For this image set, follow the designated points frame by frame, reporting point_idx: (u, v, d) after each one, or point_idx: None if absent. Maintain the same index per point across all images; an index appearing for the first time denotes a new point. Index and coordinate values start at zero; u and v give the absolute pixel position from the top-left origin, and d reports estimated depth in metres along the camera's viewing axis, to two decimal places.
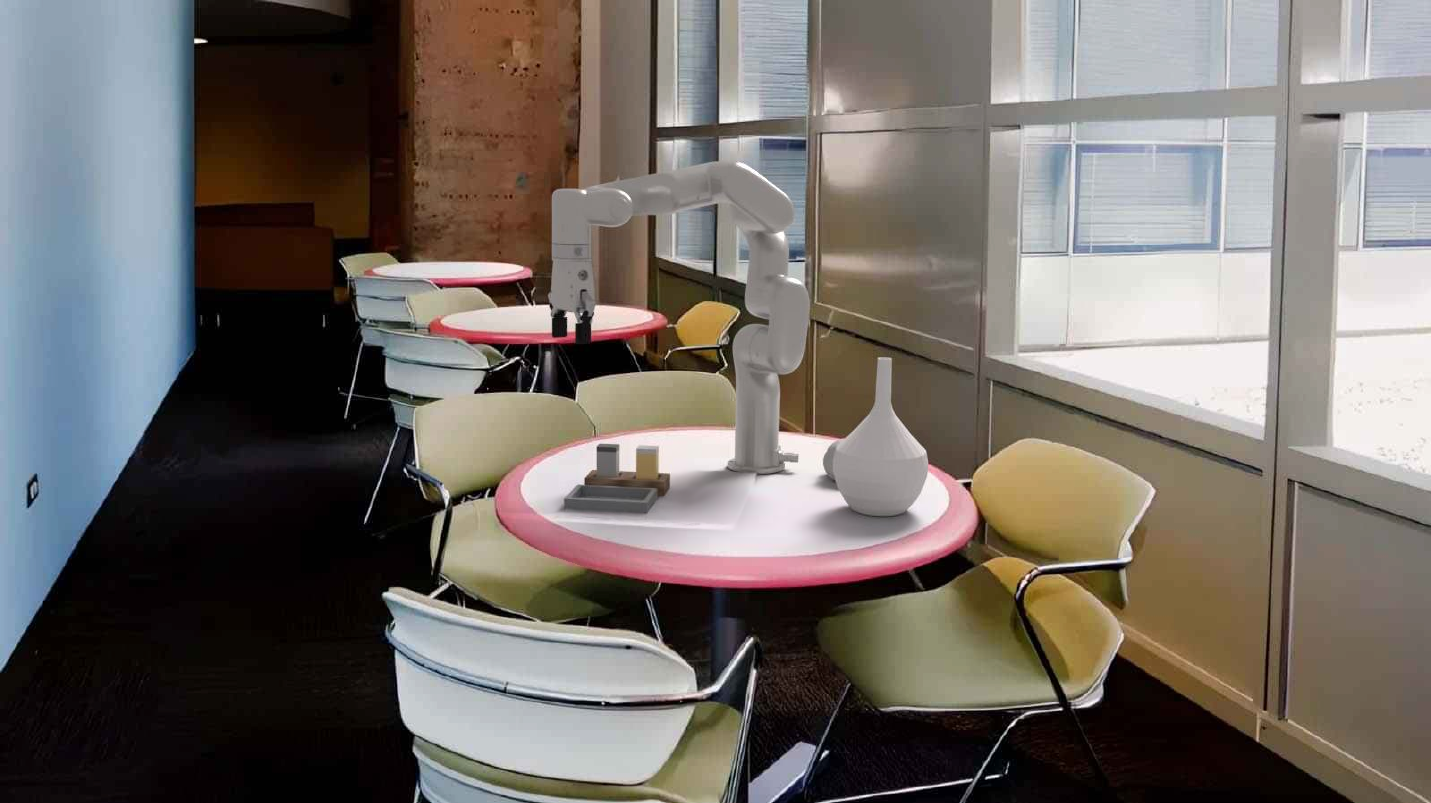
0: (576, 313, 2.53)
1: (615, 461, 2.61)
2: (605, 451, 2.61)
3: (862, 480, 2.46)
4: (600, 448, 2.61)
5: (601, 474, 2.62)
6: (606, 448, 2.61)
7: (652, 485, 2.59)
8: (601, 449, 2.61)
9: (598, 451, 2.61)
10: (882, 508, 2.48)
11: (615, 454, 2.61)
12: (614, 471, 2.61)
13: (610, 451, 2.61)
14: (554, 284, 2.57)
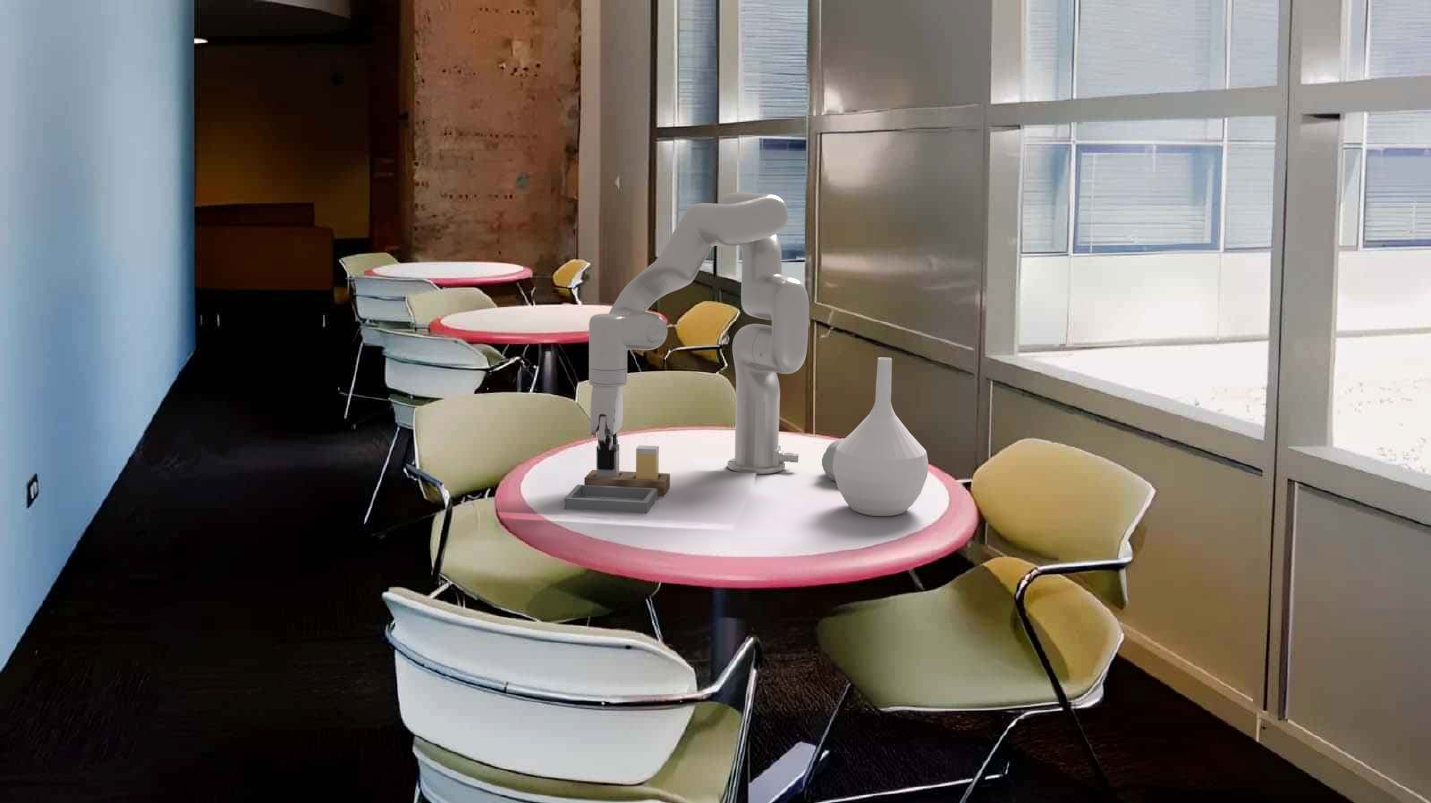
0: (617, 434, 2.64)
1: (615, 461, 2.61)
2: None
3: (862, 479, 2.46)
4: None
5: (601, 474, 2.62)
6: None
7: (652, 485, 2.59)
8: None
9: None
10: (882, 508, 2.48)
11: (615, 454, 2.61)
12: (614, 471, 2.61)
13: None
14: (617, 410, 2.58)
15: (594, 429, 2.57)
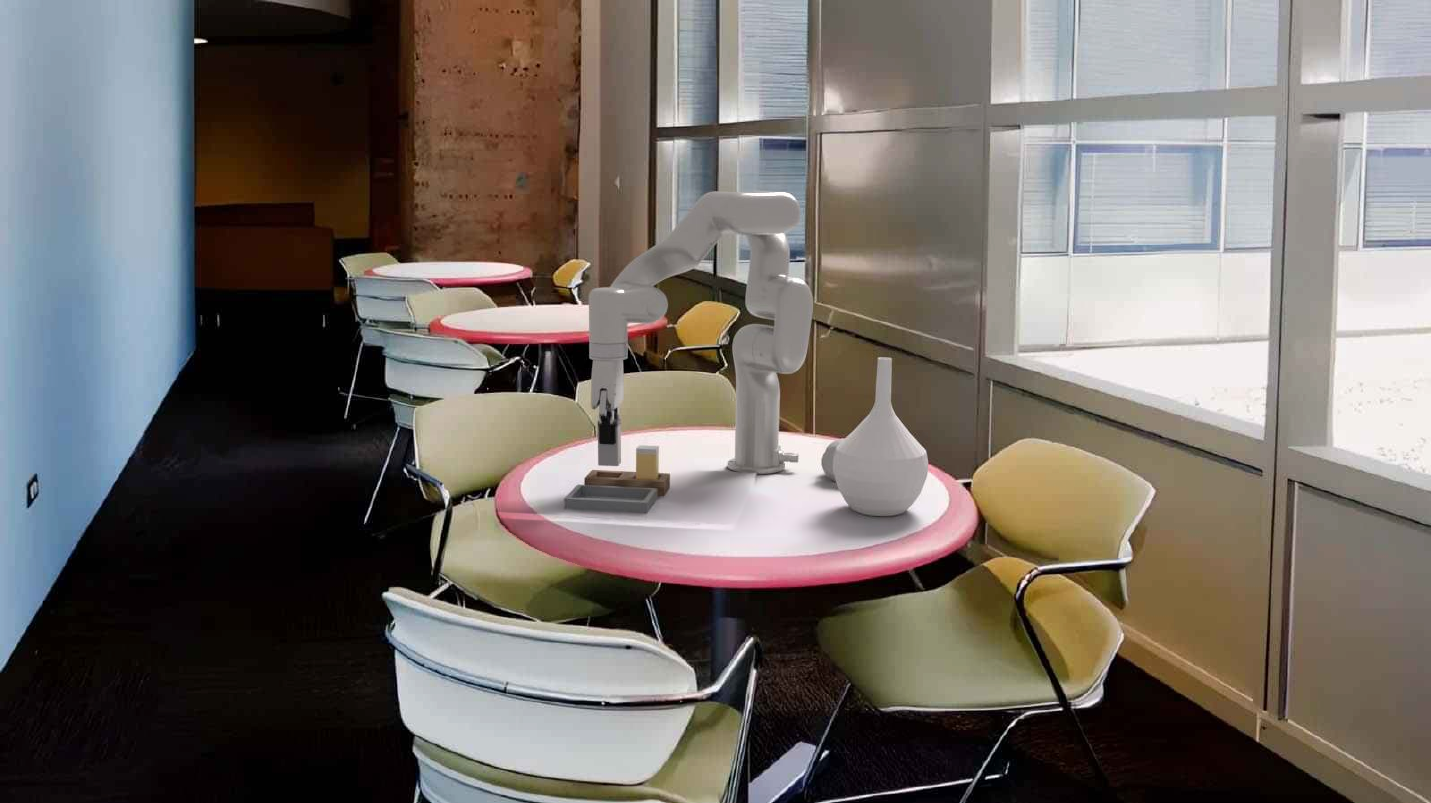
0: (618, 409, 2.63)
1: (616, 435, 2.60)
2: None
3: (862, 479, 2.46)
4: None
5: (602, 448, 2.61)
6: None
7: (652, 485, 2.59)
8: None
9: None
10: (882, 508, 2.48)
11: (616, 428, 2.60)
12: (616, 445, 2.61)
13: None
14: (617, 384, 2.57)
15: (595, 403, 2.56)
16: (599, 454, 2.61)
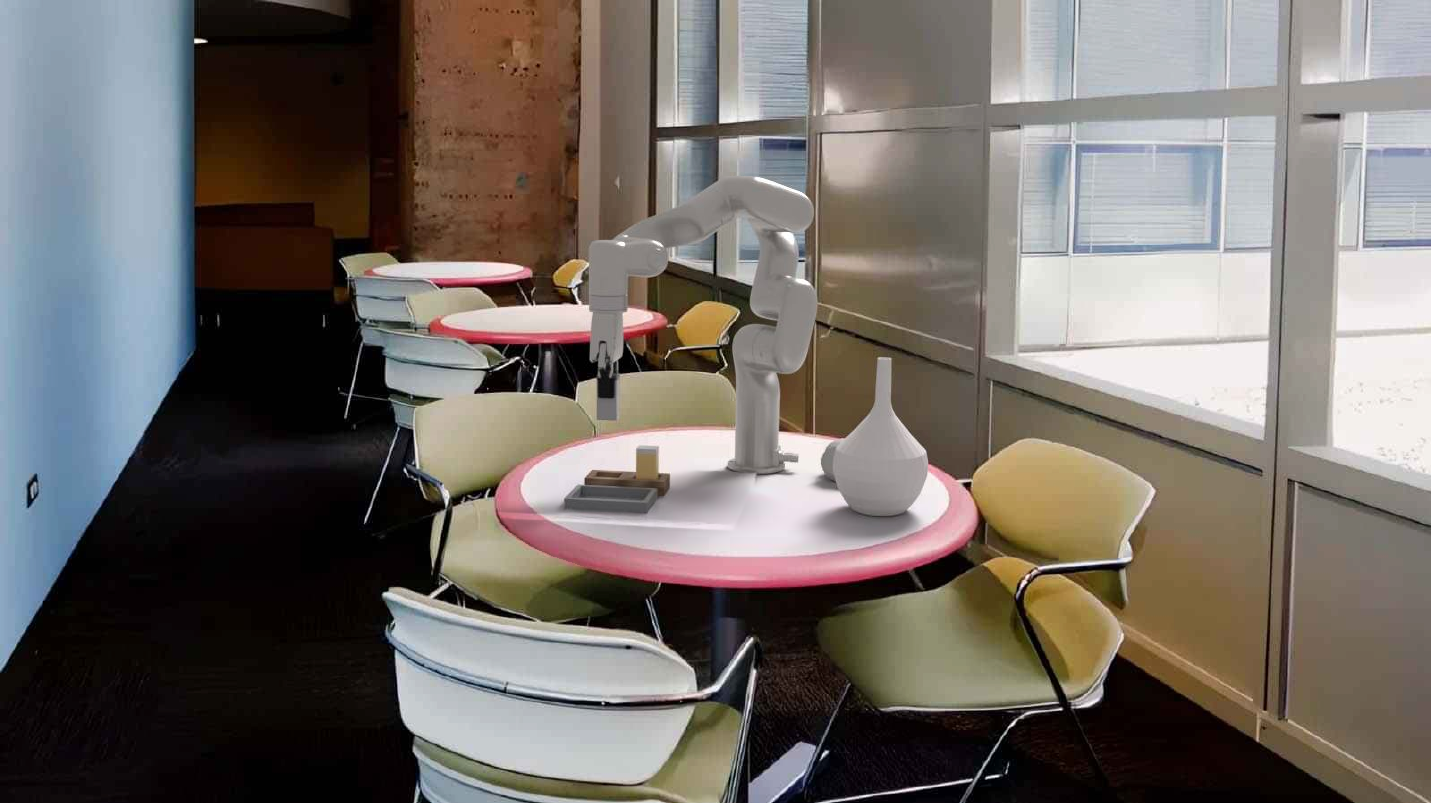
0: (617, 363, 2.61)
1: (615, 389, 2.58)
2: None
3: (862, 480, 2.46)
4: None
5: (601, 402, 2.59)
6: None
7: (652, 485, 2.59)
8: None
9: None
10: (882, 508, 2.48)
11: (615, 382, 2.58)
12: (614, 400, 2.59)
13: None
14: (617, 337, 2.55)
15: (594, 356, 2.54)
16: (598, 408, 2.59)
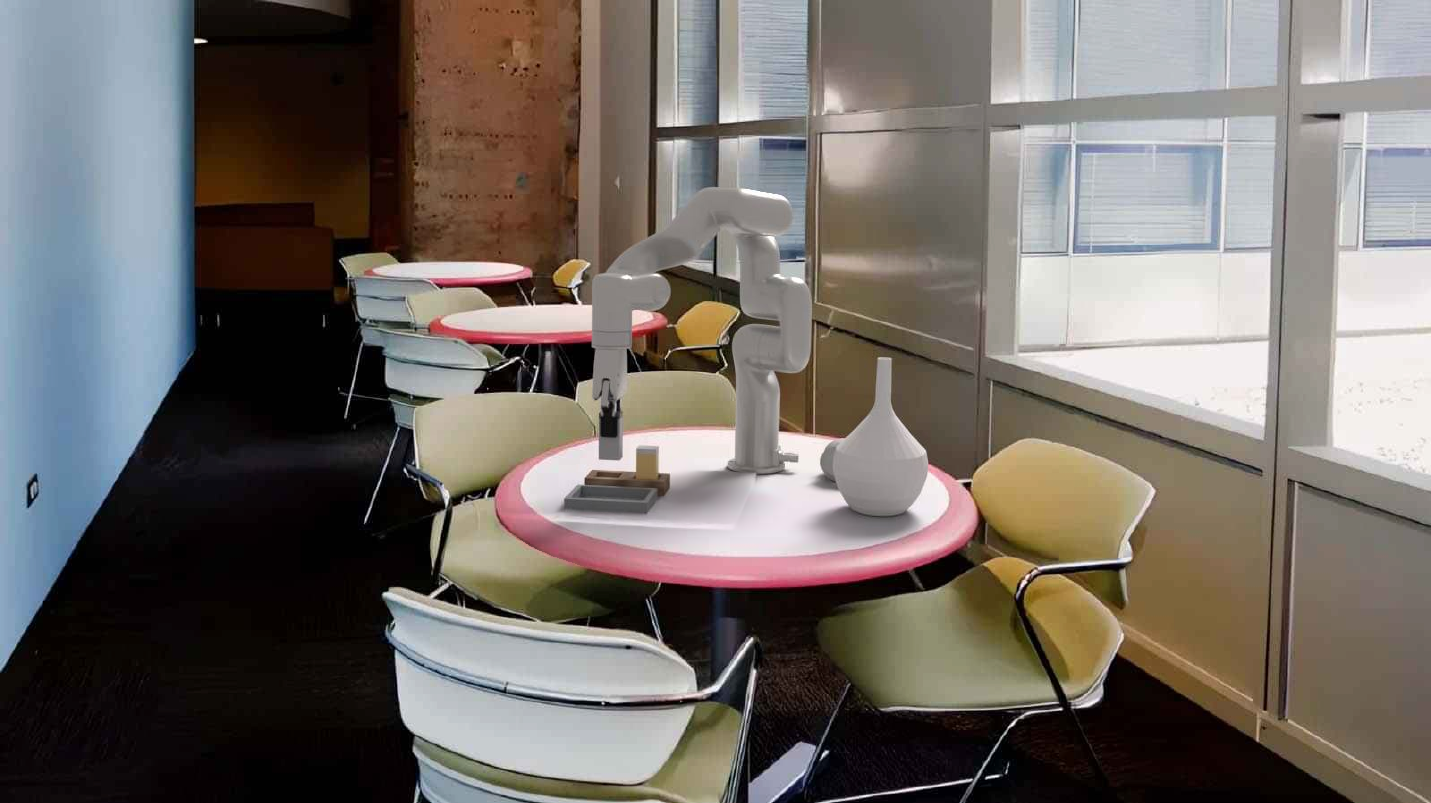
0: (620, 401, 2.52)
1: (618, 428, 2.49)
2: None
3: (861, 480, 2.46)
4: None
5: (603, 441, 2.49)
6: None
7: (652, 485, 2.59)
8: None
9: None
10: (882, 508, 2.48)
11: (618, 421, 2.48)
12: (617, 439, 2.49)
13: None
14: (621, 374, 2.46)
15: (597, 394, 2.44)
16: (600, 448, 2.50)
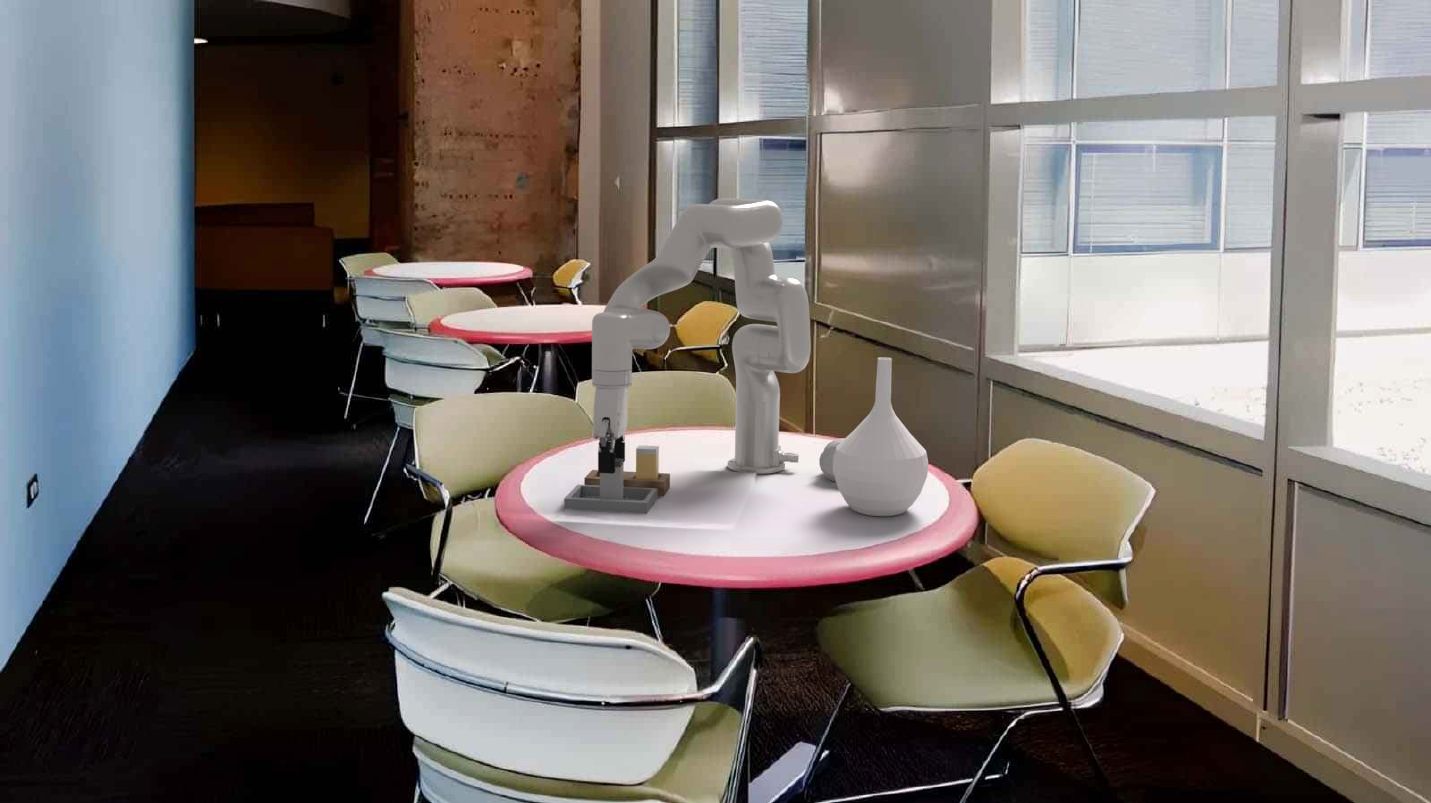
0: (623, 432, 2.55)
1: (619, 476, 2.50)
2: None
3: (862, 480, 2.46)
4: None
5: (604, 489, 2.51)
6: None
7: (652, 485, 2.59)
8: None
9: None
10: (882, 508, 2.48)
11: (619, 469, 2.50)
12: (618, 487, 2.51)
13: None
14: (621, 413, 2.47)
15: (597, 433, 2.46)
16: (601, 495, 2.51)
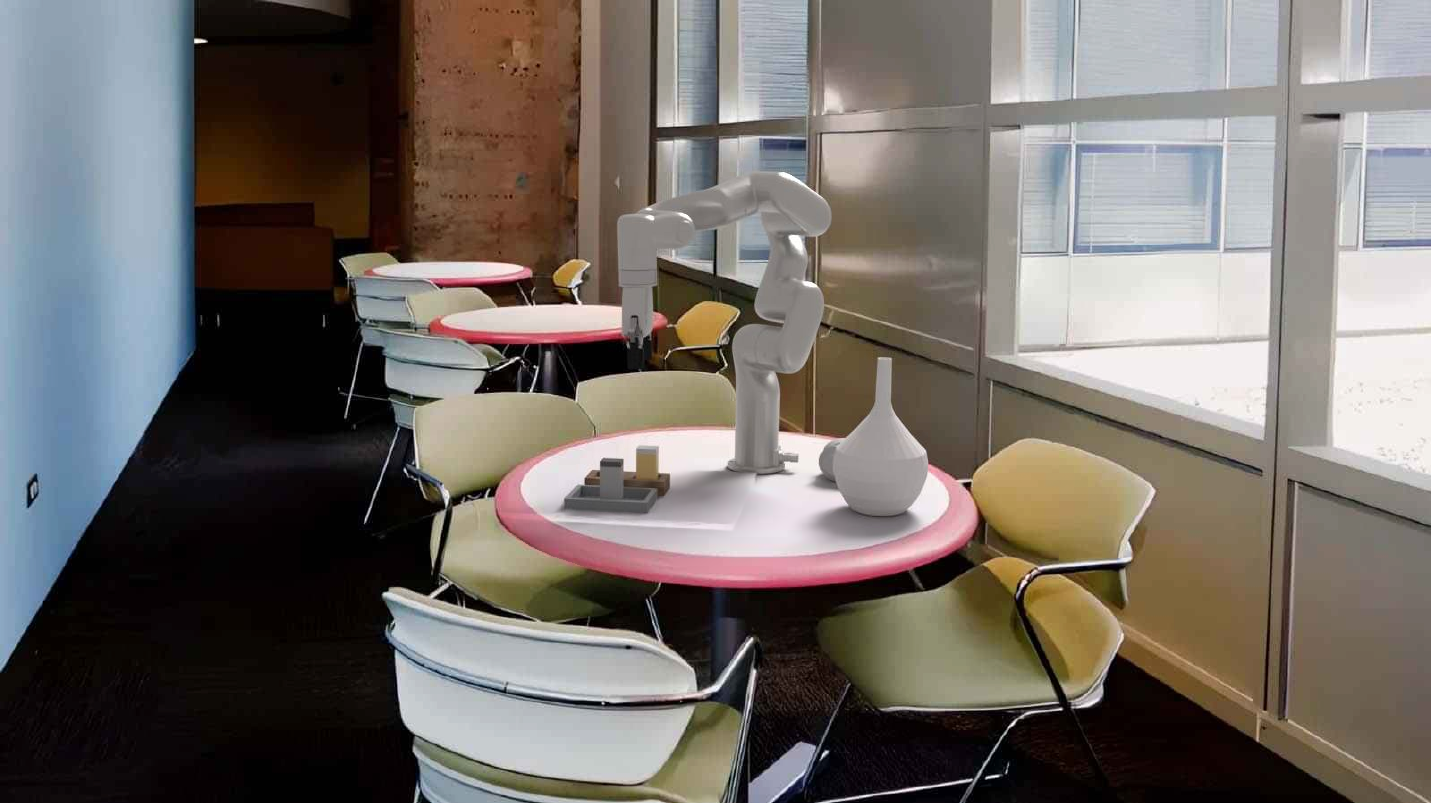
0: (650, 331, 2.63)
1: (619, 476, 2.50)
2: (609, 466, 2.50)
3: (862, 479, 2.46)
4: (604, 463, 2.50)
5: (604, 489, 2.51)
6: (610, 463, 2.50)
7: (652, 485, 2.59)
8: (605, 464, 2.50)
9: (602, 466, 2.50)
10: (882, 508, 2.48)
11: (619, 469, 2.50)
12: (618, 487, 2.51)
13: (614, 466, 2.50)
14: (648, 311, 2.55)
15: (626, 331, 2.54)
16: (601, 495, 2.51)
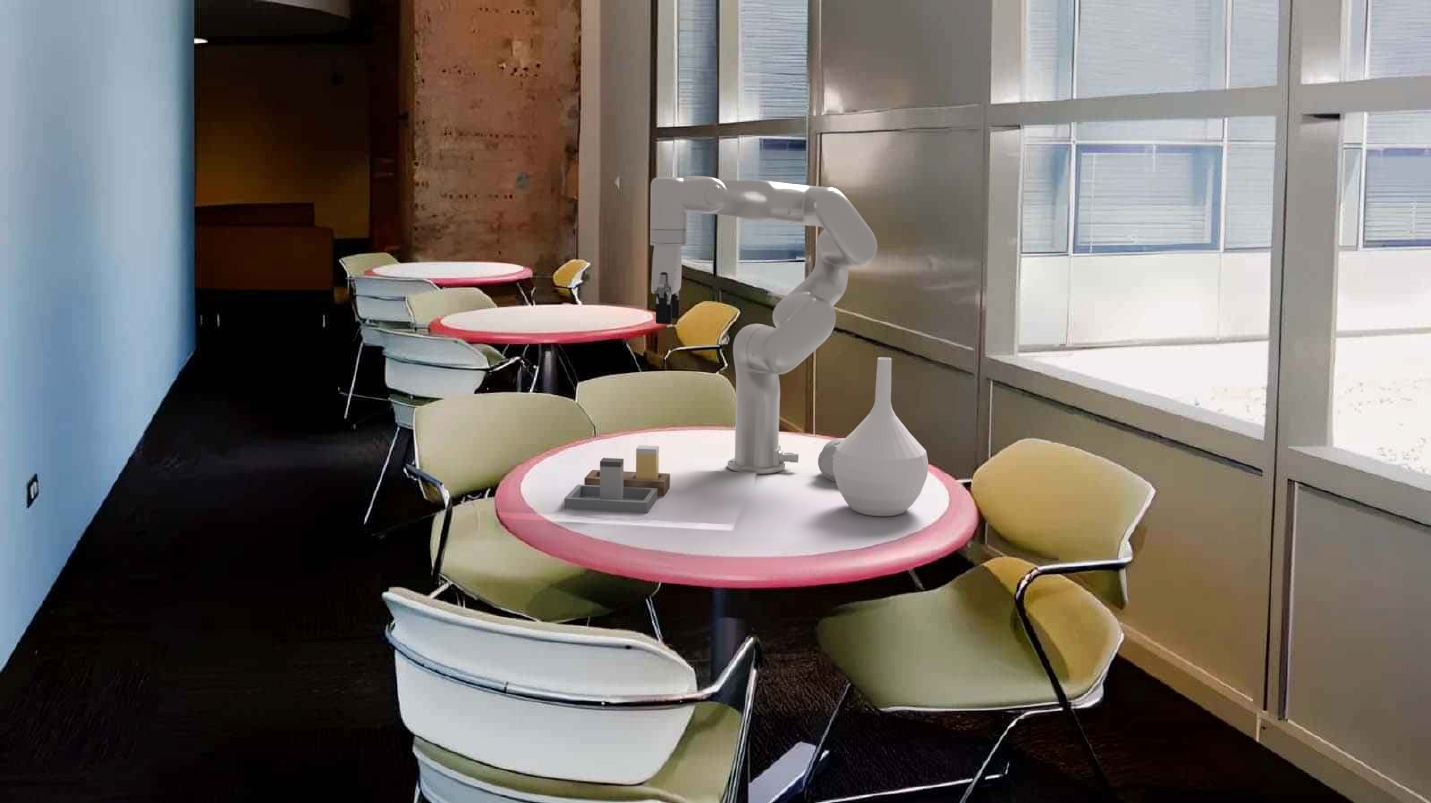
0: (677, 290, 2.76)
1: (619, 476, 2.50)
2: (609, 466, 2.50)
3: (861, 480, 2.46)
4: (604, 463, 2.50)
5: (604, 489, 2.51)
6: (610, 463, 2.50)
7: (652, 485, 2.59)
8: (605, 464, 2.50)
9: (602, 466, 2.50)
10: (882, 508, 2.48)
11: (619, 469, 2.50)
12: (618, 487, 2.51)
13: (614, 466, 2.50)
14: (677, 269, 2.68)
15: (656, 287, 2.67)
16: (601, 495, 2.51)
